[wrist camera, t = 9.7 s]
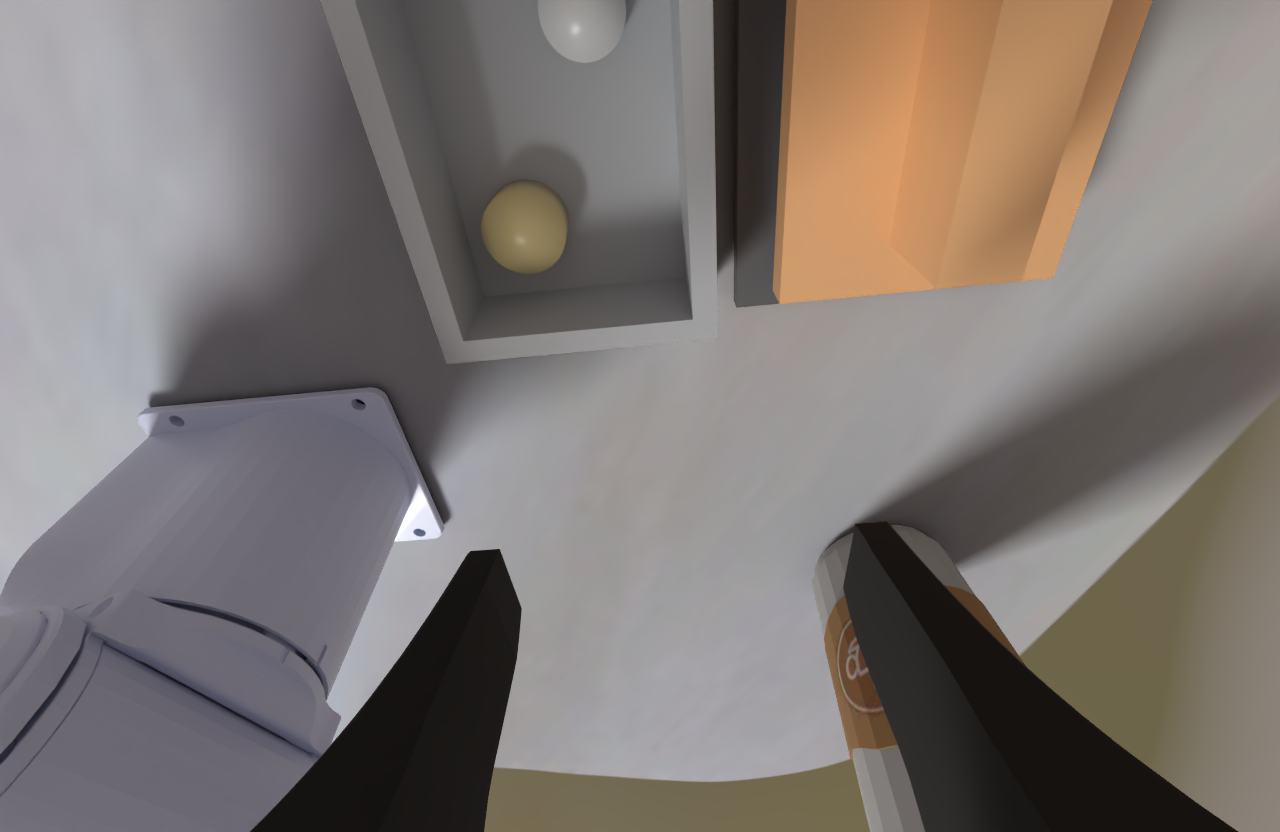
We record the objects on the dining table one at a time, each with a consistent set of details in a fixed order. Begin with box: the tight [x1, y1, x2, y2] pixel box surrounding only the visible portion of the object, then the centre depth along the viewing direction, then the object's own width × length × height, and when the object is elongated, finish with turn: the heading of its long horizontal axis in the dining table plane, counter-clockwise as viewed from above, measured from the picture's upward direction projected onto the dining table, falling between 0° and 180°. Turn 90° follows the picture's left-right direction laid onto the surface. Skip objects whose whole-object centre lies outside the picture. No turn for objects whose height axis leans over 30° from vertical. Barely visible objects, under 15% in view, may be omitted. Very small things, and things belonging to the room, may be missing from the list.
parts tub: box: [320, 0, 718, 364], centre depth 15 cm, size 8×11×4 cm
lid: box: [773, 0, 1153, 304], centre depth 13 cm, size 8×11×5 cm
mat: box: [734, 0, 787, 307], centre depth 15 cm, size 10×13×1 cm
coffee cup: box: [813, 525, 1026, 832], centre depth 22 cm, size 8×8×15 cm
